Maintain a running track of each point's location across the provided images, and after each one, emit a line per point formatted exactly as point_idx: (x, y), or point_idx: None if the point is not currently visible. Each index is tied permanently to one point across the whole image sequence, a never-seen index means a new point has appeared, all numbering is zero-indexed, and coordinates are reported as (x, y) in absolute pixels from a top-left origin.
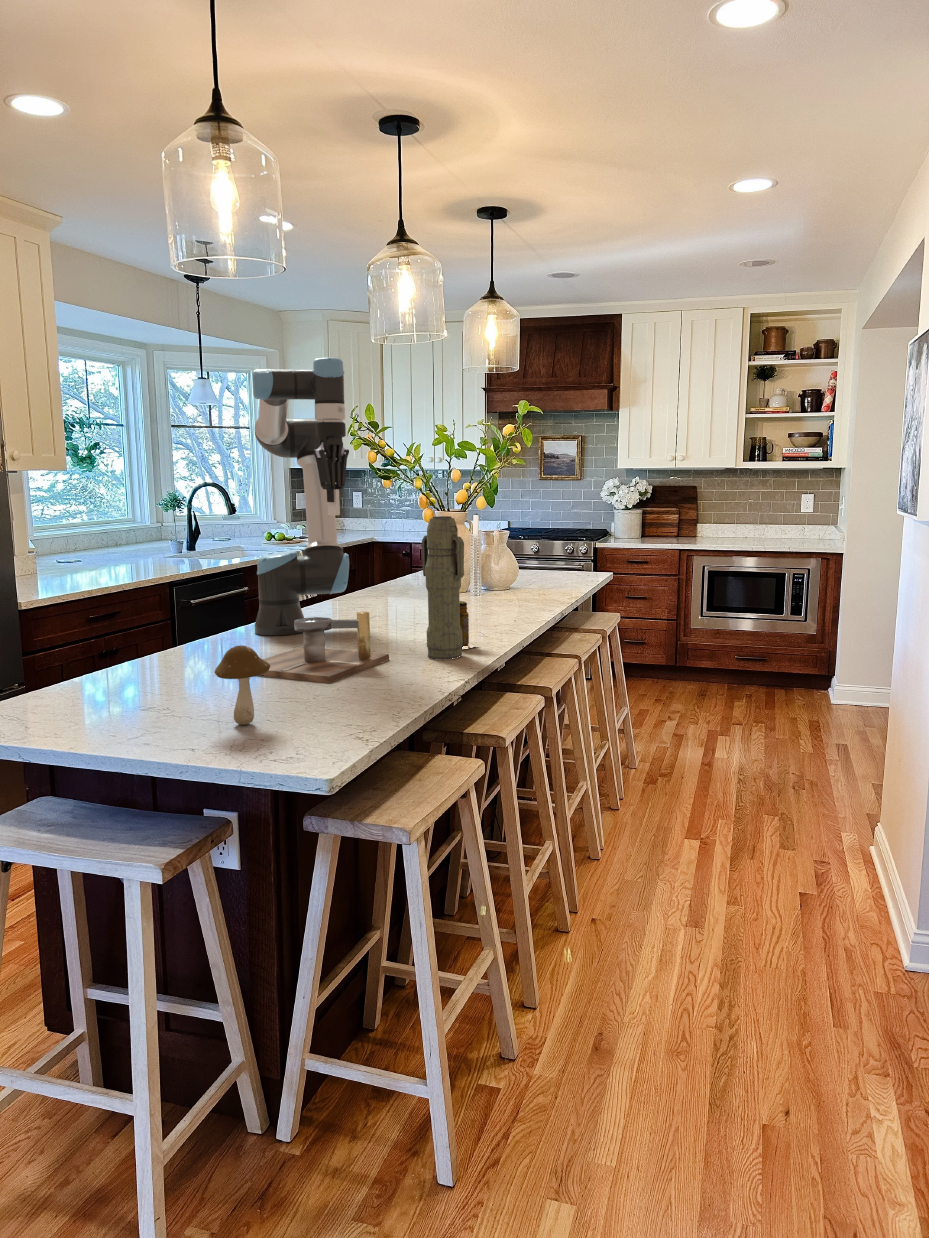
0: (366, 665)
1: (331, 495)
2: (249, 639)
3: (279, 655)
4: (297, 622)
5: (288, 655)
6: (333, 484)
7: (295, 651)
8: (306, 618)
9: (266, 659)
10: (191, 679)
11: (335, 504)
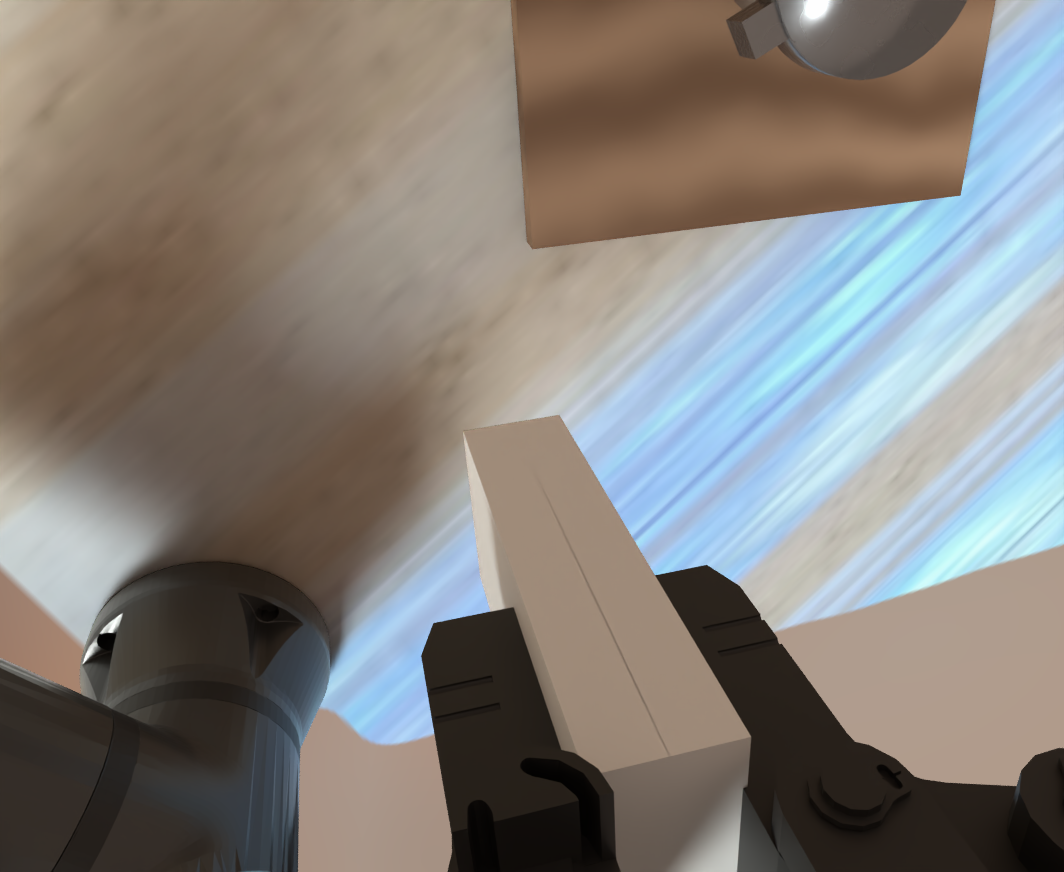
0: None
1: (780, 659)
2: (417, 621)
3: (730, 204)
4: (959, 2)
5: (718, 166)
6: (927, 863)
7: (635, 202)
8: (833, 50)
9: (814, 193)
10: (1051, 264)
11: (616, 526)
